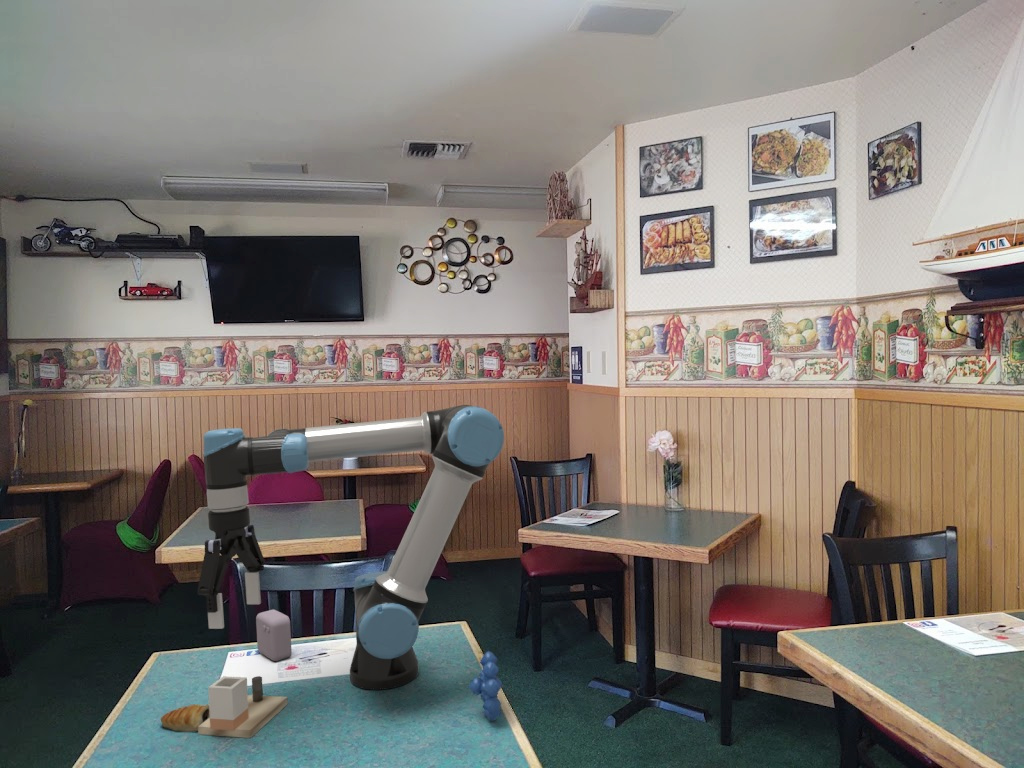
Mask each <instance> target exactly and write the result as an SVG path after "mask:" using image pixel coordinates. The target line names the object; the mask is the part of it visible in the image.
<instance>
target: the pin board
mask: <svg viewBox="0 0 1024 768" xmlns="http://www.w3.org/2000/svg"><path fill="white" fill-rule="evenodd" d="M251 688H252V689H251V690H252V691H251V692H252V693H251V694H247V695H248V716H249V718H248V719H247V720H246V721H244V722H243V723H242V724H241V725H240V726H239V727H237V728H236V729H235V730H220V729H210V718H208V719H207V720H206V721H204V722H203V723H202V724H201V725H199V726H198V731H197V732H198V735H203V736H204V735H207V736H218V737H219V736H220V737H229V738H230V737H233V738H245V739H247V738H248V739H251V738H253V736H254V735H256V734H257V733H258V732H259V730H261V729H262V728H263V727H265V725H266V724H267V723H269V721H271V720H272V719H273V718H274V717H276V716H277V715H278V714H279V712H281V711H282V710H283V709H284V708H285V707H286V706H287V705H288V697H287V696H277V695H276V696H275V695H264V693H263V692H264V691H263V688H264V687H263V677H262V676H261V675H259V676H254V677H252V678H251Z"/></svg>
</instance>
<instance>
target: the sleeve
mask: <svg viewBox="0 0 1024 768" xmlns="http://www.w3.org/2000/svg"><path fill="white" fill-rule="evenodd" d="M207 691H208V705H209V712H210V729H220V730H235V729H236V728H237V727H239V726H240V725H241V724H242V723H243V722H244V721H246V720H247V719H248V718H249V716H248V695H249V694H248V678H247V677H245V676H244V677H242V676H227V675H224V676H222V677H220V678H219V679H218V680H216V681H215V682H214V683H212V684H211V685H209V686H208V689H207Z"/></svg>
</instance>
